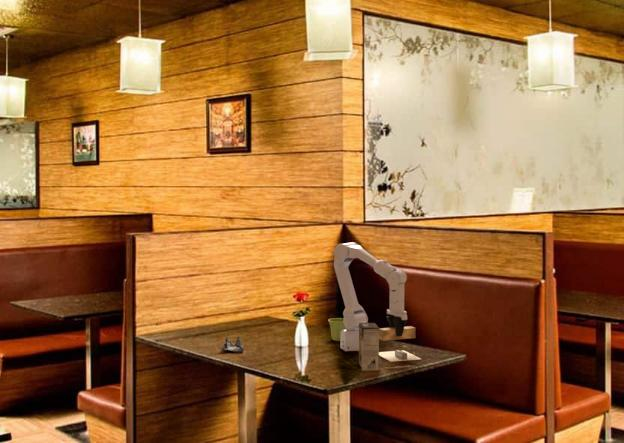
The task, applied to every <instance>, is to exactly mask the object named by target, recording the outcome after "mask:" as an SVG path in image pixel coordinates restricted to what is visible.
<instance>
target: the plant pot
mask: <svg viewBox="0 0 624 443" xmlns="http://www.w3.org/2000/svg"><path fill="white" fill-rule="evenodd" d="M343 320H344V317H343V318H342V317H335V318H329V319H327V322H328V324H329V328H330V334H331V340H333V341H335V342H340V335H341V331H342V330H345V329H346V327H345V325H344V322H343Z"/></svg>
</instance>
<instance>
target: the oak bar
mask: <svg viewBox="0 0 624 443" xmlns="http://www.w3.org/2000/svg"><path fill="white" fill-rule="evenodd" d="M406 339H416V327H414V326H412V325H410V326H409V325H407V326H405V327H404V330H403V334H402V336H398V337H397V336H396V329H395V327H393V328H390V327H383V328H382V327H381V328H380V327H379V340H381V341H382V342H383V341H394V340H396V341H397V340H406Z"/></svg>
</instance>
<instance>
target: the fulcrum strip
mask: <svg viewBox="0 0 624 443" xmlns="http://www.w3.org/2000/svg"><path fill="white" fill-rule="evenodd" d="M394 351H395V356H396V357H398V358H400V359H402V360H404V359H407V353H405V352H403V351H401V349H395V350H394Z"/></svg>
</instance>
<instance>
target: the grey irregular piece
mask: <svg viewBox="0 0 624 443" xmlns="http://www.w3.org/2000/svg"><path fill="white" fill-rule="evenodd" d="M221 349H222V352H225V351H226V352H227V351H228V352H229V351H230V352H232V354H243V353H244V341H243V339H242V338H241V337H240V336H236V342H235V343H234V342H233V341H231V340H230V338H228V337H227V336H226V337H225V338H224V343H223V345H222V347H221ZM234 349H235V350H234Z"/></svg>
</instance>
